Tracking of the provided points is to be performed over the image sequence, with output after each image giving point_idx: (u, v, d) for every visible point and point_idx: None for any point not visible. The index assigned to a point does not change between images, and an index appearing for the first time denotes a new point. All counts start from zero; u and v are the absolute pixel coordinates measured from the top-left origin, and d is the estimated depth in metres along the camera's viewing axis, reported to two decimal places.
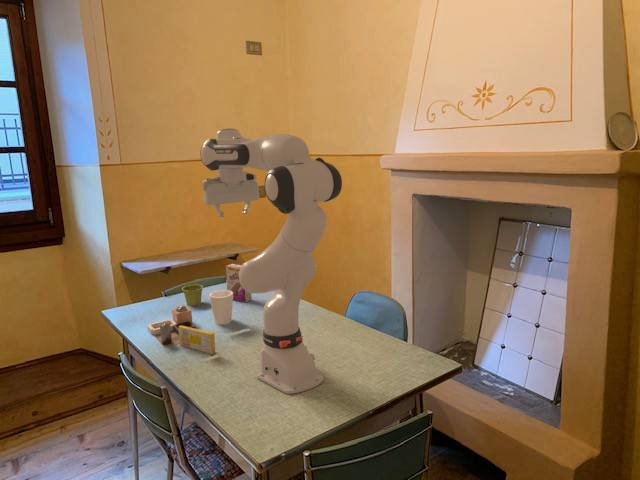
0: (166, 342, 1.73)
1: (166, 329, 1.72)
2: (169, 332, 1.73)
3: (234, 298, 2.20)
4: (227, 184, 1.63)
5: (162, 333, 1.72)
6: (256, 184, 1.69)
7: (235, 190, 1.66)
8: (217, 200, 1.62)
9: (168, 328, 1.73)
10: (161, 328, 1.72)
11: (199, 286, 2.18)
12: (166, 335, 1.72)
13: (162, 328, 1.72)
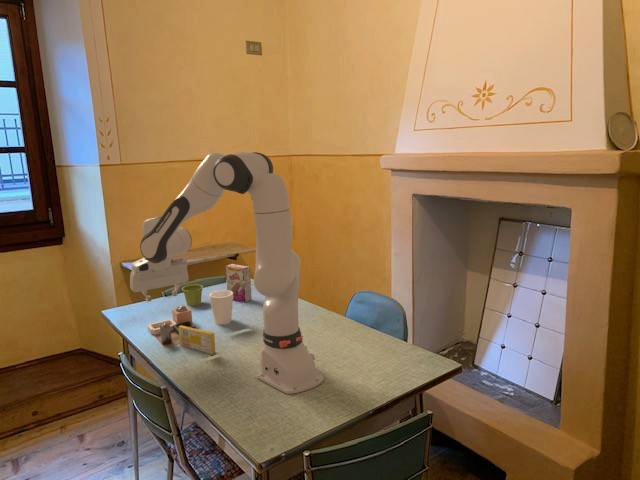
0: (166, 342, 1.73)
1: (166, 329, 1.72)
2: (169, 332, 1.73)
3: (234, 298, 2.20)
4: None
5: (162, 333, 1.72)
6: None
7: None
8: None
9: (168, 328, 1.72)
10: (161, 328, 1.72)
11: (199, 286, 2.18)
12: (166, 335, 1.72)
13: (162, 328, 1.72)
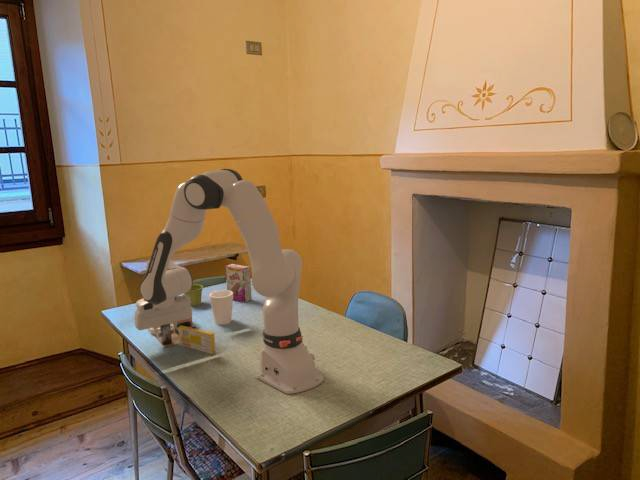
0: (166, 342, 1.73)
1: (166, 329, 1.72)
2: (169, 332, 1.73)
3: (234, 298, 2.20)
4: None
5: (162, 333, 1.72)
6: None
7: None
8: None
9: (168, 328, 1.72)
10: (161, 328, 1.72)
11: (199, 286, 2.18)
12: (166, 335, 1.72)
13: (162, 328, 1.72)
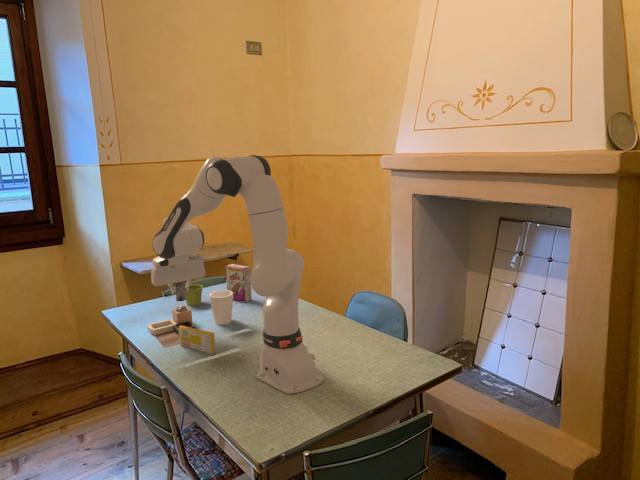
0: (181, 299, 1.81)
1: (181, 286, 1.80)
2: (184, 289, 1.81)
3: (234, 298, 2.20)
4: None
5: (177, 290, 1.80)
6: None
7: None
8: None
9: (183, 285, 1.80)
10: (176, 285, 1.80)
11: (199, 286, 2.18)
12: (181, 292, 1.80)
13: (177, 285, 1.79)
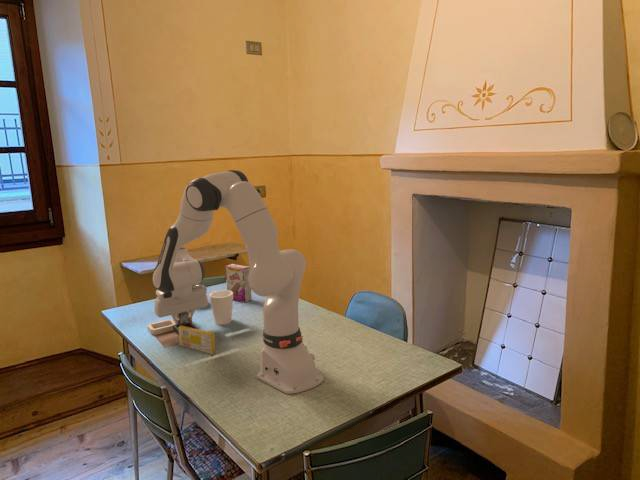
0: None
1: (184, 317, 1.82)
2: (187, 319, 1.84)
3: (234, 298, 2.20)
4: None
5: (180, 320, 1.83)
6: None
7: None
8: None
9: (186, 316, 1.83)
10: (179, 316, 1.82)
11: None
12: (184, 322, 1.83)
13: (180, 316, 1.82)
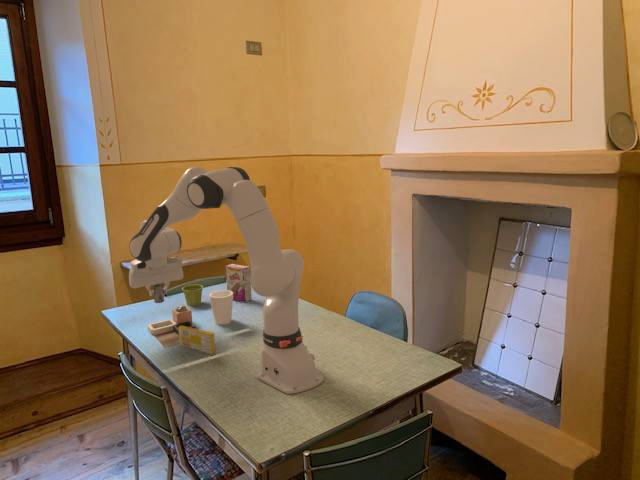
0: (159, 301, 1.83)
1: (159, 288, 1.82)
2: (162, 291, 1.83)
3: (234, 298, 2.20)
4: None
5: (155, 292, 1.82)
6: None
7: None
8: None
9: (161, 287, 1.83)
10: (154, 287, 1.82)
11: (199, 286, 2.18)
12: (159, 294, 1.82)
13: (155, 287, 1.82)
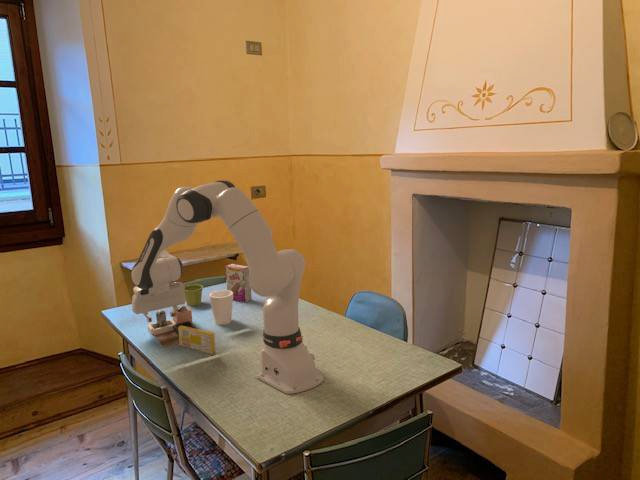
0: None
1: (162, 316, 1.85)
2: (165, 319, 1.86)
3: (234, 298, 2.20)
4: None
5: (158, 320, 1.85)
6: None
7: None
8: None
9: (164, 315, 1.85)
10: (157, 315, 1.84)
11: (199, 286, 2.18)
12: (162, 322, 1.85)
13: (158, 315, 1.84)
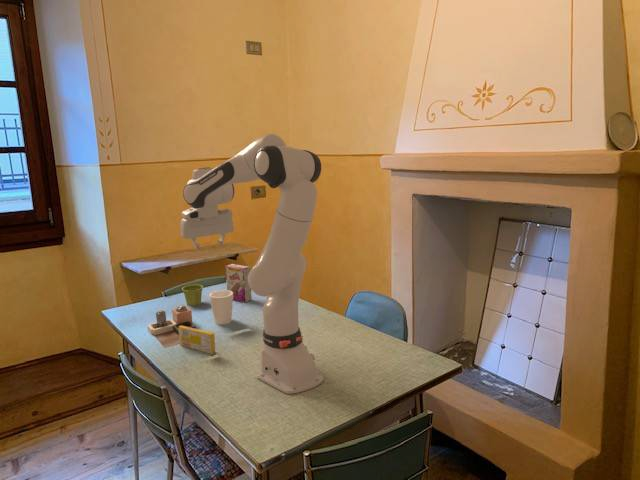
0: None
1: (162, 316, 1.84)
2: (165, 319, 1.86)
3: (234, 298, 2.20)
4: None
5: (158, 320, 1.85)
6: None
7: None
8: None
9: (164, 315, 1.85)
10: (157, 315, 1.84)
11: (199, 286, 2.18)
12: (162, 322, 1.85)
13: (158, 315, 1.84)
